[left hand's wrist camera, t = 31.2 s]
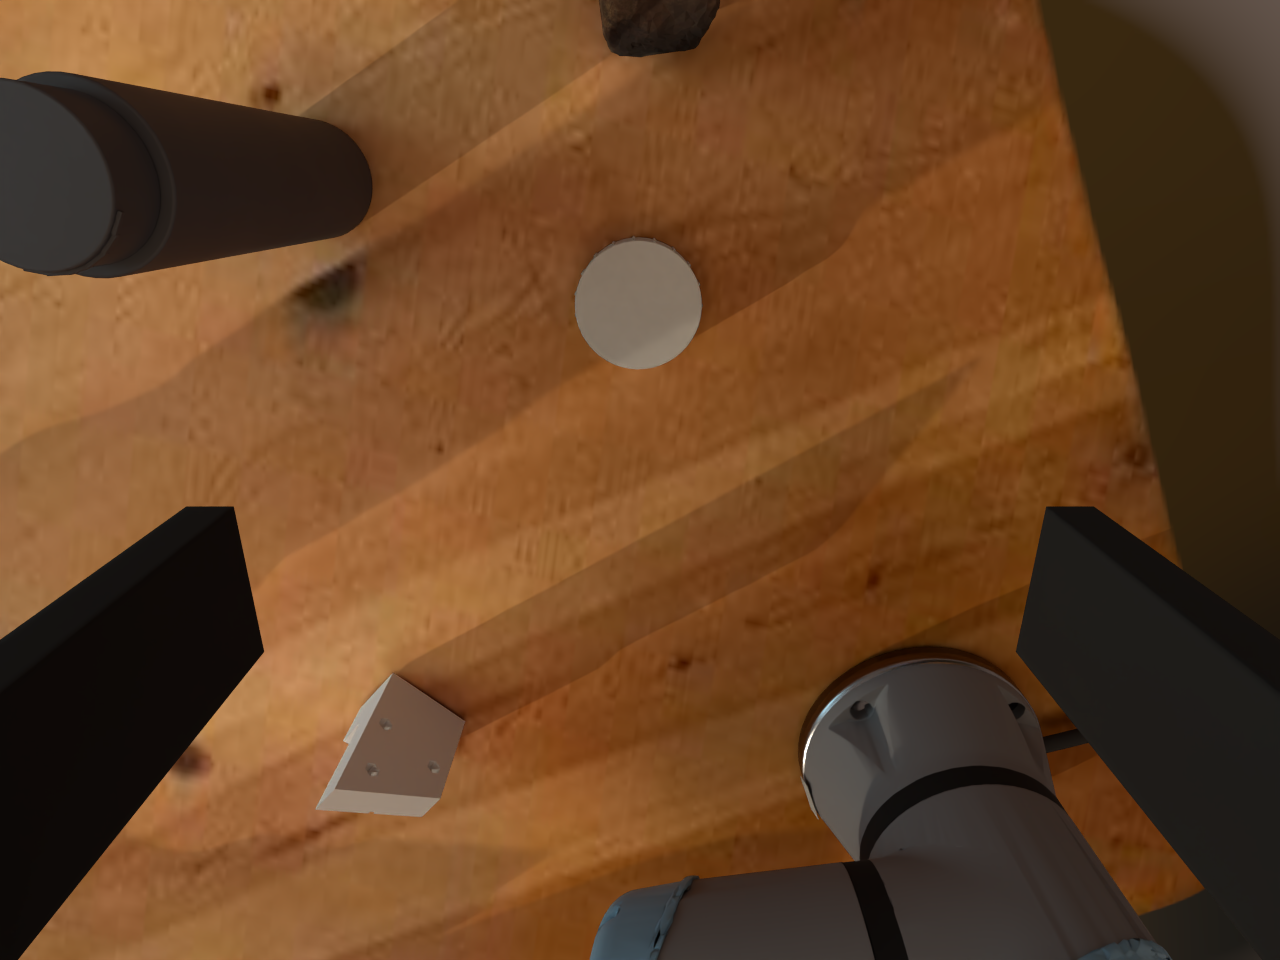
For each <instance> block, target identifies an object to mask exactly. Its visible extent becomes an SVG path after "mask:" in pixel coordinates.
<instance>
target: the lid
mask: <svg viewBox="0 0 1280 960" xmlns="http://www.w3.org/2000/svg"><path fill="white" fill-rule="evenodd" d="M690 266H691V265H690V263H689V262H688V261H687V262H686V261H685V259H684V258H683V257H682V256H681V255H680V254H679V253H678V252H677V251H676V250H675V248H674V247H673V246H672V247H670V246H668V245H667V244H665V243H663V242H660V241H657V240H656V238H653V239H650V238H642V237H636V238H635V236H633V237H632V238H627V239H623V240H620V241H617V242H615V241H613V242H612V244H610V245H608V246H607V247H605V248H604V249H602V250H601V251H600V252H599V253H597V252H596V253H595V255H594V258H593V259H592V260H591V262H590V263H589V265H588V266H587V268H586V269H584V270H583V271H582V273H581V275H582V277H581V279H580V281H579V284H578V287H577V290H576V292H575V295H576V297H575V313H576V314H575V317H576V318H577V323H578V326H579V329H580V331H581V333H582V336H583V337H584V339H585V340H586V342H587V343H588V345H589V346H590V347H591V348H592V349H593V350H594V351H595V352H596V353H597V354H598V355H599V356H601V357H602V358H604V359H605V360H607V361H609V362H610V363H612V364H615V365H618V366H620V367H624V368H629V369H647V368H653V367H656V366H660V365H662V364H664V363H667V362H669V361H670V360H672V359H673V358H675V357H676V356H677V355H679V354H680V353H681V352H682V351H683V350H684V349H685V348H686V347H687V346H688V344H689V343H690V342H691V340H692V338H693V337H694V335H695V333H696V331H697V328H698V327H699V322H700V318H701V311H702V307H703V304H702V298H701V292H700V288H699V286H700V283H699V281H698V280H697V279H696V277H695V275H694V273H693V271H692V270H691V268H690Z"/></svg>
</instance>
